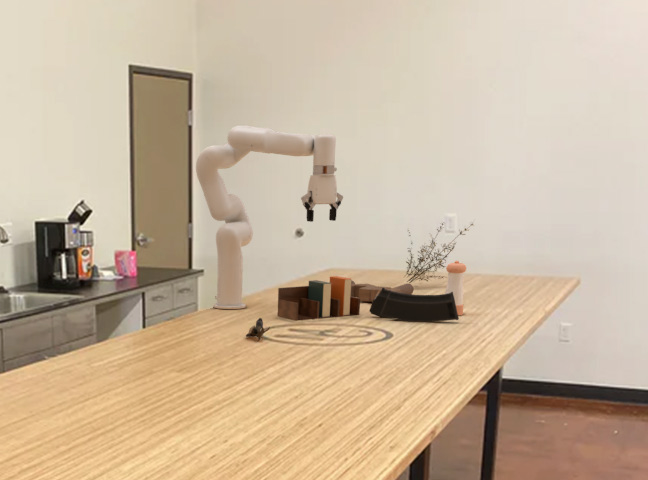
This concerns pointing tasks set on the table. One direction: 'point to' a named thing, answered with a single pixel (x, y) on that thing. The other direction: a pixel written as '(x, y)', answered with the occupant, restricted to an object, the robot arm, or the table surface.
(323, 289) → the green book
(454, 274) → the pepper shaker
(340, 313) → the orange book
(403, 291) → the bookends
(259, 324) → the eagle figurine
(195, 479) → the table surface
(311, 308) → the book rack
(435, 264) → the dried plant
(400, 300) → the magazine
